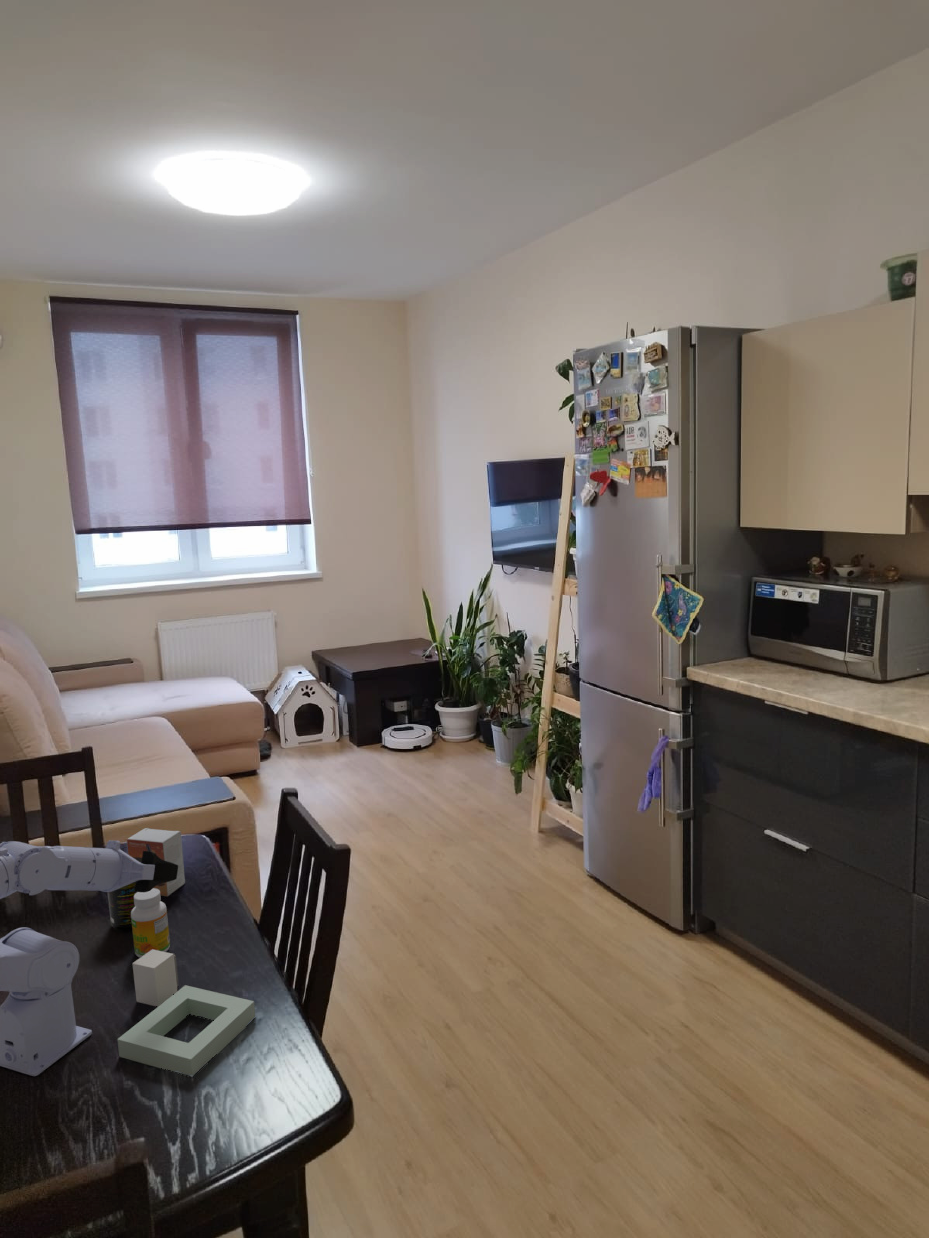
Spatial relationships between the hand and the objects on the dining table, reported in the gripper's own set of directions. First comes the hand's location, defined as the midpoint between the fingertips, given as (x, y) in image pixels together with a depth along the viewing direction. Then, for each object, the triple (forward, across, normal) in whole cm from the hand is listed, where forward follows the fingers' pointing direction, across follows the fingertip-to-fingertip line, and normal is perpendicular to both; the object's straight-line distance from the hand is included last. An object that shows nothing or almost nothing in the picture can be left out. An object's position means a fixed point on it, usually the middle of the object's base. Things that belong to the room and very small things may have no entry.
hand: (157, 870), depth 131 cm
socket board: (-3, -13, +21) cm, 25 cm away
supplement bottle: (+10, +9, +13) cm, 18 cm away
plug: (+2, -2, +18) cm, 18 cm away
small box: (+24, +25, +4) cm, 35 cm away
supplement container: (+14, +19, +10) cm, 25 cm away
